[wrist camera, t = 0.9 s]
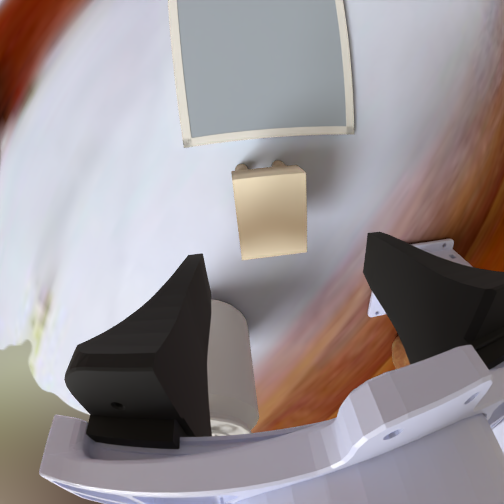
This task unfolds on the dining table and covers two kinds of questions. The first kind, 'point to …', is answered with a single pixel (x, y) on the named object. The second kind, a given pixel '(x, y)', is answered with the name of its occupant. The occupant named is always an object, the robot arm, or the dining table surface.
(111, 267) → the dining table surface
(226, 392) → the can
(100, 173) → the dining table surface
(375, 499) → the robot arm
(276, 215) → the small wooden stool
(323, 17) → the mat
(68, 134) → the dining table surface
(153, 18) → the dining table surface
